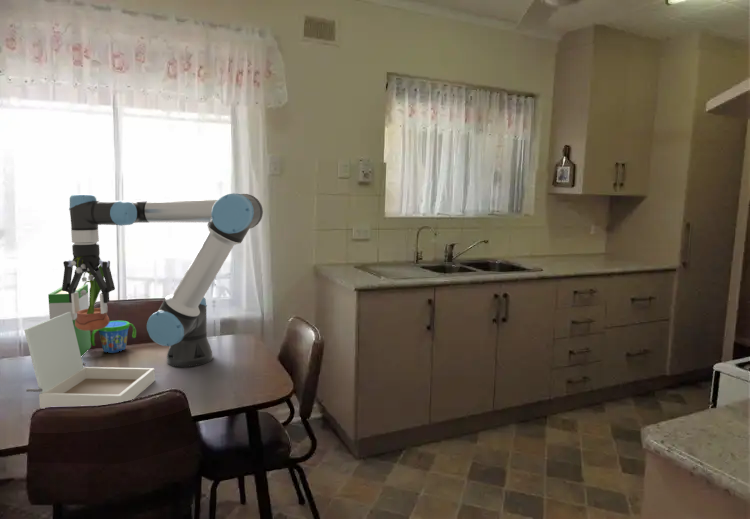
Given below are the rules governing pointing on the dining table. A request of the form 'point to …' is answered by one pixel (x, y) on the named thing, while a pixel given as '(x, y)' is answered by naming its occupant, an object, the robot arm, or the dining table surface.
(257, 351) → the dining table surface
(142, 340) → the dining table surface
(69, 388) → the white open hinged box
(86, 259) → the robot arm
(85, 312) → the potted flower
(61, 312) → the hardback book
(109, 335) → the snack cup
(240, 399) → the dining table surface
